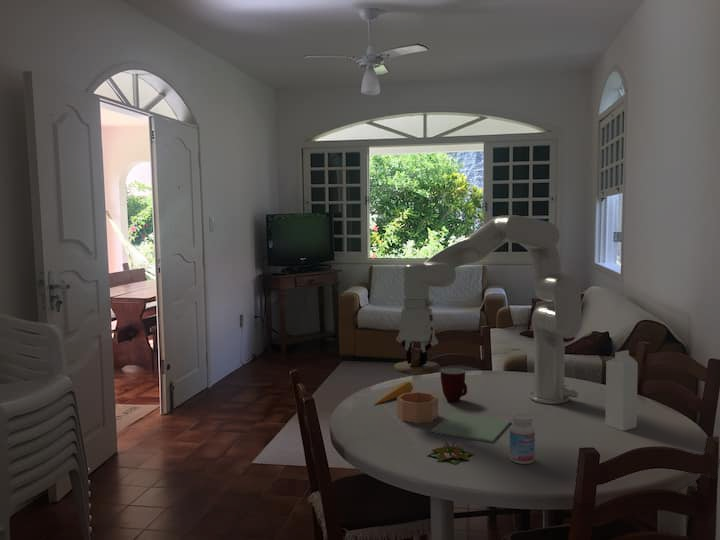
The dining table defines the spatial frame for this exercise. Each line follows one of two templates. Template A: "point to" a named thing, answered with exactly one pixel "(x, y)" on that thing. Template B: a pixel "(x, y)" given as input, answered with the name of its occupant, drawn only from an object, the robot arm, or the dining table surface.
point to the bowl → (417, 407)
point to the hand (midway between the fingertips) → (416, 363)
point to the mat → (472, 427)
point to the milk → (621, 391)
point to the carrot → (397, 392)
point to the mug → (453, 384)
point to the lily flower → (450, 450)
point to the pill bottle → (522, 439)
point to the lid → (416, 365)
